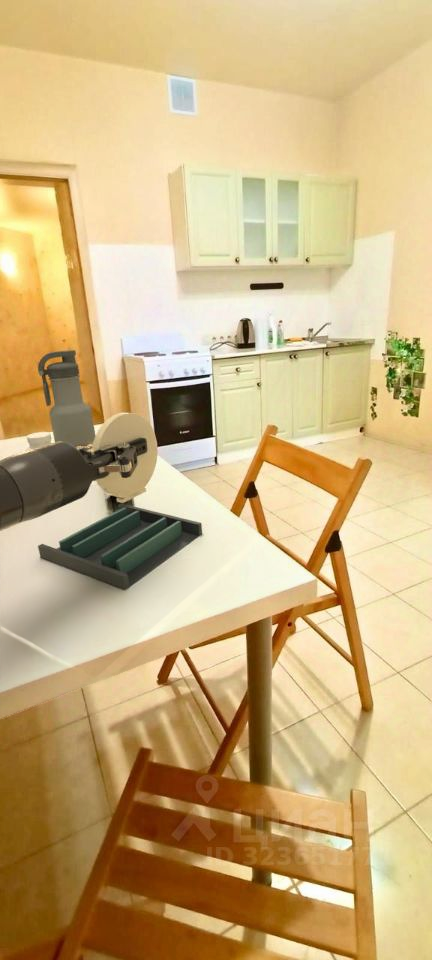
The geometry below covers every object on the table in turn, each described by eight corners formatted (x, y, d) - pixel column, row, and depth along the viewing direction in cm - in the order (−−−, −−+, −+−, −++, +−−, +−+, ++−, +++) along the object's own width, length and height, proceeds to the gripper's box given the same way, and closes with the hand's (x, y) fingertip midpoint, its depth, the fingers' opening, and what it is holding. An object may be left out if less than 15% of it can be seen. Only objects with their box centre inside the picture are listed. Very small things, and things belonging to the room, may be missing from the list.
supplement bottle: (34, 500, 93) (21, 440, 88) (32, 490, 99) (20, 433, 94) (67, 494, 95) (56, 435, 91) (64, 484, 101) (53, 429, 97)
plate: (98, 510, 61) (84, 422, 57) (155, 482, 71) (147, 405, 66) (104, 512, 61) (90, 423, 56) (161, 483, 70) (153, 405, 66)
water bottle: (57, 475, 107) (33, 354, 97) (59, 463, 116) (37, 352, 106) (100, 469, 110) (81, 351, 100) (99, 458, 118) (81, 348, 109)
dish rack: (40, 562, 69) (36, 543, 68) (123, 516, 83) (121, 500, 82) (125, 595, 59) (122, 574, 58) (203, 537, 73) (201, 519, 72)
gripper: (72, 457, 47) (174, 422, 61) (-2, 444, 54) (104, 415, 68) (83, 522, 50) (179, 474, 63) (11, 501, 57) (111, 462, 70)
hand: (140, 443), depth 65 cm, fingers closed on plate, 1 cm apart
